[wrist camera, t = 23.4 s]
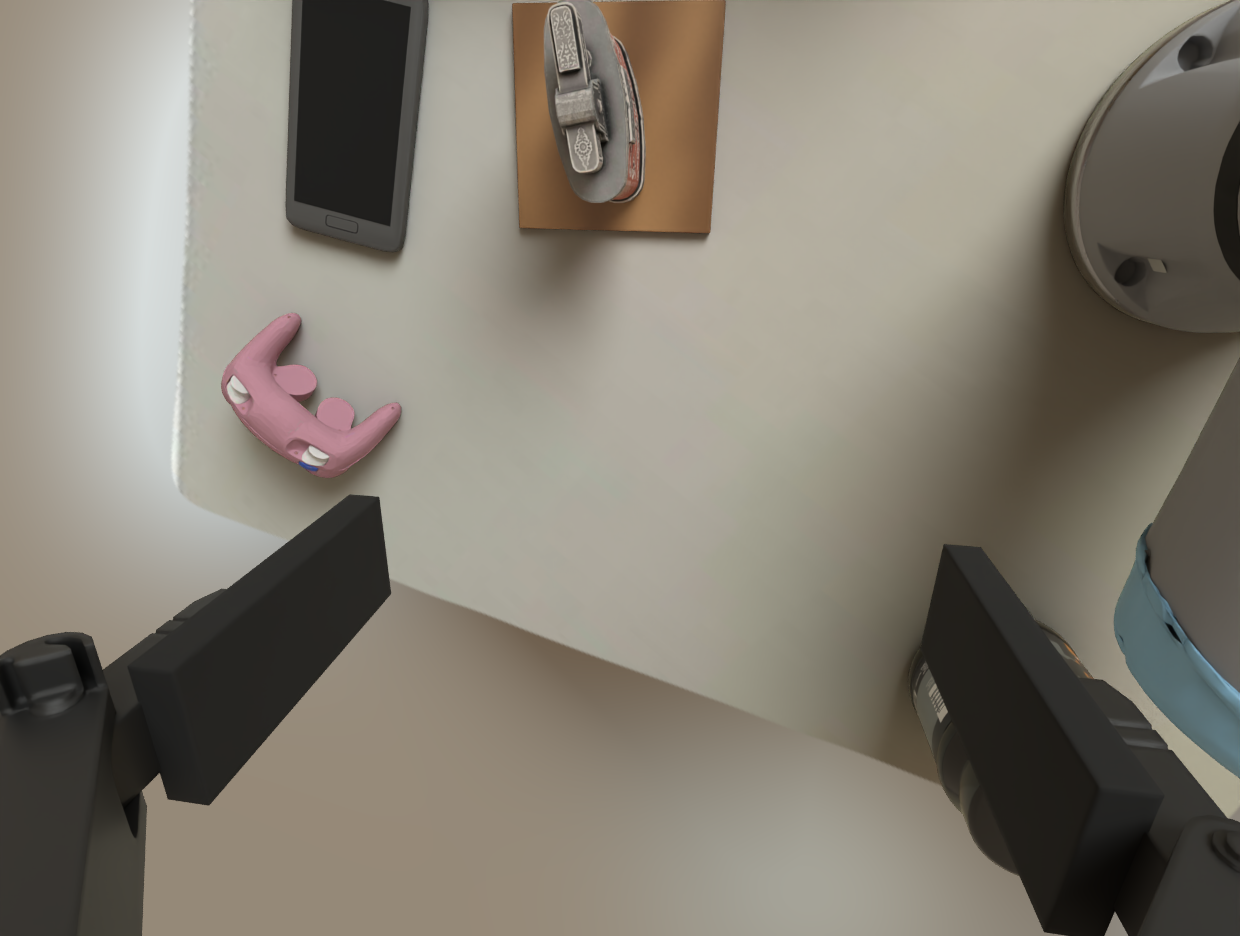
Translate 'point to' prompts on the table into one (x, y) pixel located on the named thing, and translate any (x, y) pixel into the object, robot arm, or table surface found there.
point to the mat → (672, 109)
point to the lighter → (593, 104)
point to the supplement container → (954, 759)
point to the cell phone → (354, 117)
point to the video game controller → (297, 407)
